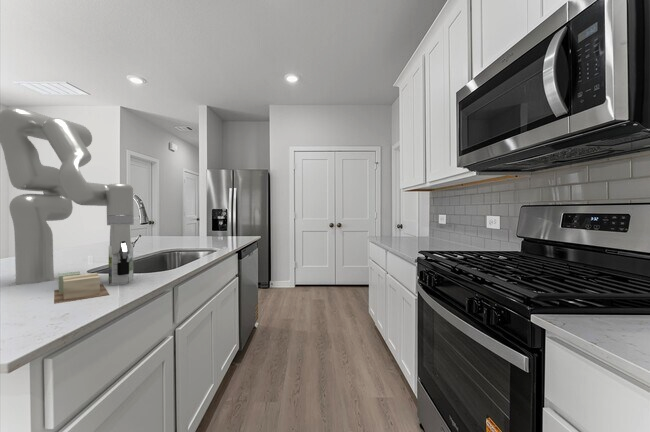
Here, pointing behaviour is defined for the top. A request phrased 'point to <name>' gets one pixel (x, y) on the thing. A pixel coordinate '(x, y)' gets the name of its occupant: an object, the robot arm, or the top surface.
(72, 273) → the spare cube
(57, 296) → the board
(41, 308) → the top surface
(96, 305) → the top surface
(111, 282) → the syrup box
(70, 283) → the base block
